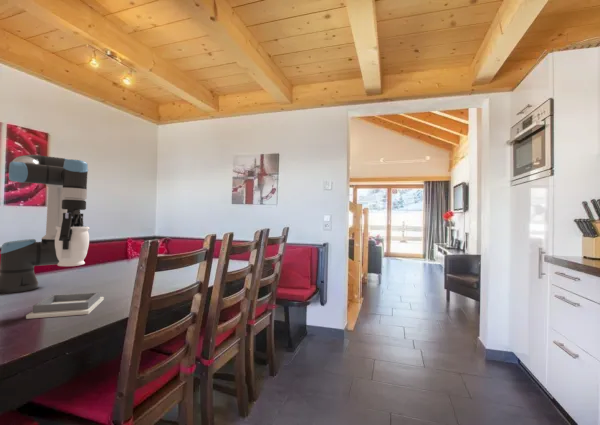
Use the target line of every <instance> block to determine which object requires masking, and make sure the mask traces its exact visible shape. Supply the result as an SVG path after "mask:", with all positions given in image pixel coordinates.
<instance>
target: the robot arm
mask: <svg viewBox="0 0 600 425" xmlns="http://www.w3.org/2000/svg"><path fill="white" fill-rule="evenodd" d="M8 165H9V166H8V179H9V181H11V182H17V183H21V184H23V183H25V184H26V183H28V184H29V183H30V184H41V185H42V184H43V185H46V186H47V187H48V188H47V209H46V224H45V225H46V228H45V234H44V236H42V237H41V241H37V240H36V239H34V238H29V239H18V240H11V241H7V242H4V243H2V245H1V248H0V294H12V293H21V292H28V291H32V290H35V289H38V288H39V282H38V278H37V276H36V273H35V267H39V266H51V265H52V266H55V265H57V264H58V263H59V260H58V258H57V256H56V250H55V237H56V233H57V230H56V227H58V226H61V232H60V237H59V241H62V253H61V258H71V246H72V241H70V240H71V236H72V229H70V228H71V227H81V226H84V213H81V211H85V210H86V209H87V201H86V200H87V198H88V196H87V194H88V189H87V188H88V175H89V174H88V172H89V167H88V162H86V161H84V160H81V159H79V160H78V159H69V158H65V157H64V158H63V157H55V156H48V155H47V156H46V155H41V154H28V155H27V154H26V155H25V154H24V155H19V156H17V157H15V158H14V159H12V161H10V162H9V164H8Z"/></svg>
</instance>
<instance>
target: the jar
mask: <svg viewBox="0 0 600 425" xmlns="http://www.w3.org/2000/svg"><path fill="white" fill-rule="evenodd" d="M70 229H72V236H71V240H70V241H72V246H71V258H61V253H62V241H59V237H60V232H61V226H58V227H56V230H57V233H56V237H55V250H56V256H57V258H58V260H59V263H58V264H56V265H57V266H58V267H76V266H77V267H78V266H82V265H85V264H86V262H85V261H84V260H85V259H86V257H87V254H88V251H89V247H90V246H89V245H90V233H89V230H90V229H91V228H90V226H85V225H83V226H81V227H71V228H70Z"/></svg>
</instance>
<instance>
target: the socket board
mask: <svg viewBox="0 0 600 425" xmlns="http://www.w3.org/2000/svg"><path fill="white" fill-rule="evenodd" d="M104 299H105V297H104V296H101V292H81V293H65V294H64V293H63V294H62V293H61V294H59V293H58V294H51V295H49V296H48V297H46V298H43V300H41V301H39V302H37V303H36V304H34V305H32V311H31V312H29V313H27V314H26V315H25V319H26V320H28V319H39V318H42V319H43V318H51V317H52V318H54V317H57V318H58V317H65V316H66V317H67V316H81V315H83V316H84V315H90V313H91V312H92V311H93V310H94V309H96V308H97V307H98V306H99V305H100V303H102V302H103V301H104Z"/></svg>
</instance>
